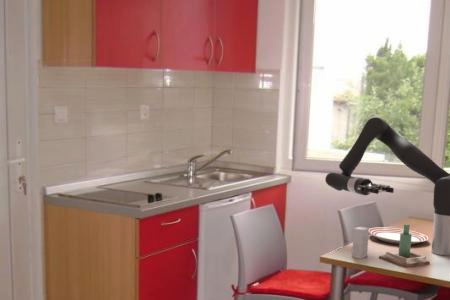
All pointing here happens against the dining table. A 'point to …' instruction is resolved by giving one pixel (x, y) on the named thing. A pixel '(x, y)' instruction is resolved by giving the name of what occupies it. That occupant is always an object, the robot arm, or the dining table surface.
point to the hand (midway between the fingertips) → (385, 190)
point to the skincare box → (360, 242)
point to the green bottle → (405, 242)
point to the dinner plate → (396, 235)
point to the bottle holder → (405, 259)
